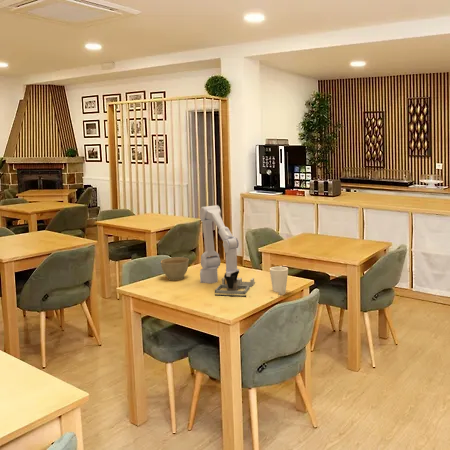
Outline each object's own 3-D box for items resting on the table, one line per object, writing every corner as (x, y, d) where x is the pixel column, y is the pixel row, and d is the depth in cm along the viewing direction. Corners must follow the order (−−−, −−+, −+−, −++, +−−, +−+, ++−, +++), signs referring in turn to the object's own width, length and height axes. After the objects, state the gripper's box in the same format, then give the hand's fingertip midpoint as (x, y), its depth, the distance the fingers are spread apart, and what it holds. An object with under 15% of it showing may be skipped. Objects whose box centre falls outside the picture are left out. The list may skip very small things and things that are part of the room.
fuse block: (251, 289, 297) (251, 281, 296) (220, 288, 301) (220, 280, 300) (255, 284, 306) (255, 276, 306) (225, 283, 311) (224, 275, 310)
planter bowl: (169, 274, 336) (168, 256, 334) (193, 275, 330) (193, 257, 328) (156, 281, 321) (155, 262, 319) (182, 283, 315) (181, 264, 314)
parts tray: (214, 295, 288) (214, 290, 288) (220, 289, 299) (220, 284, 298) (245, 297, 284) (244, 291, 284) (249, 291, 295) (249, 285, 294)
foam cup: (283, 296, 283) (283, 271, 280) (267, 294, 288) (266, 269, 285) (291, 291, 291) (291, 267, 288) (275, 289, 295) (275, 265, 293)
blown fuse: (227, 292, 290) (226, 281, 289) (228, 291, 293) (228, 279, 292) (236, 293, 289) (236, 281, 288) (237, 291, 292) (237, 280, 291)
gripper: (235, 264, 281) (236, 290, 283) (242, 258, 294) (242, 283, 297) (221, 264, 282) (222, 290, 285) (229, 257, 296) (229, 282, 298)
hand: (232, 286), depth 291 cm, fingers open, 6 cm apart
